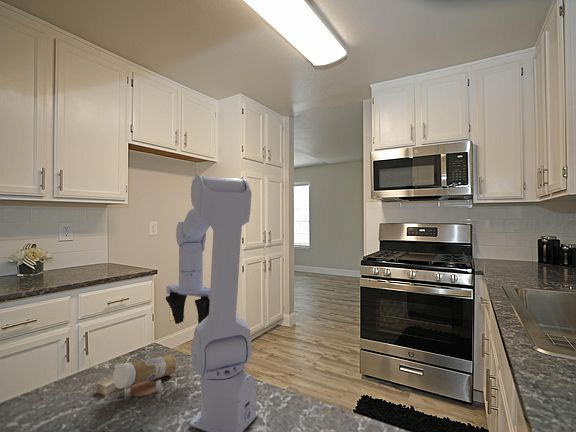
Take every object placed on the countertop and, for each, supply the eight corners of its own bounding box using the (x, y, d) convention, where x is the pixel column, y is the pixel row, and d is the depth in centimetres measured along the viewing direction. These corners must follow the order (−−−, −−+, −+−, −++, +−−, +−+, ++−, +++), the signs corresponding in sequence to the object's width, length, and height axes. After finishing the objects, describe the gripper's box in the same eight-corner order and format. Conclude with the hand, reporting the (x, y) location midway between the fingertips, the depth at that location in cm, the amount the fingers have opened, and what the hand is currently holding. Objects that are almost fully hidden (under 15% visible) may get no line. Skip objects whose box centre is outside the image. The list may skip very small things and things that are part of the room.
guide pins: (162, 392, 66) (162, 380, 66) (141, 405, 62) (141, 392, 62) (131, 382, 70) (131, 371, 70) (109, 394, 66) (109, 382, 66)
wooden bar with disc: (173, 379, 72) (174, 370, 72) (131, 405, 62) (131, 395, 62) (140, 370, 76) (140, 362, 76) (96, 392, 66) (96, 383, 66)
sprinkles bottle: (172, 378, 73) (121, 394, 61) (160, 368, 75) (108, 381, 64) (180, 360, 74) (131, 371, 62) (167, 350, 76) (118, 359, 64)
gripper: (224, 269, 79) (224, 324, 79) (180, 266, 85) (180, 316, 85) (205, 274, 72) (205, 333, 72) (160, 270, 79) (159, 324, 78)
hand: (190, 324), depth 78 cm, fingers open, 7 cm apart
